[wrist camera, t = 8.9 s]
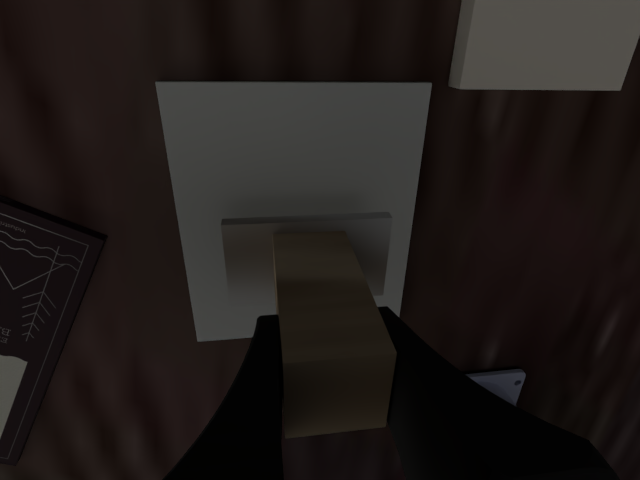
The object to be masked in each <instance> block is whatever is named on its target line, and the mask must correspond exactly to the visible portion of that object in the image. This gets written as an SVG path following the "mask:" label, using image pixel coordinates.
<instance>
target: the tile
mask: <svg viewBox="0 0 640 480" xmlns="http://www.w3.org/2000/svg"><path fill="white" fill-rule="evenodd" d="M639 36H640V0H462V3H461V9H460V15H459V21H458V27H457V34H456V40H455V46H454V52H453V58H452V64H451V70H450V77H449V83H448V86H450V87H454V88H457V89H502V90H621V87H622V84H623V81H624V78H625V76H626V73H627V70H628V67H629V64H630V61H631V58H632V56H633V53H634V50H635V47H636V44H637V41H638V38H639Z"/></svg>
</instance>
